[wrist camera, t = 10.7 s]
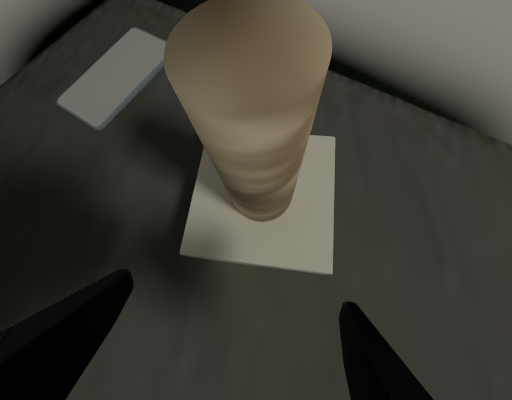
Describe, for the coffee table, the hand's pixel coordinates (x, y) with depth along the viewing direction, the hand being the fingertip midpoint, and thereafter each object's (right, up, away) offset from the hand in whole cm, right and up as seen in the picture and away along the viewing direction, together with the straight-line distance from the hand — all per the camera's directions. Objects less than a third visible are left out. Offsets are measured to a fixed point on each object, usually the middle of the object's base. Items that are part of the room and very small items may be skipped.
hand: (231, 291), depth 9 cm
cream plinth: (+2, +4, +13) cm, 13 cm away
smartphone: (-17, +20, +20) cm, 33 cm away
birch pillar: (+2, +4, +10) cm, 11 cm away
